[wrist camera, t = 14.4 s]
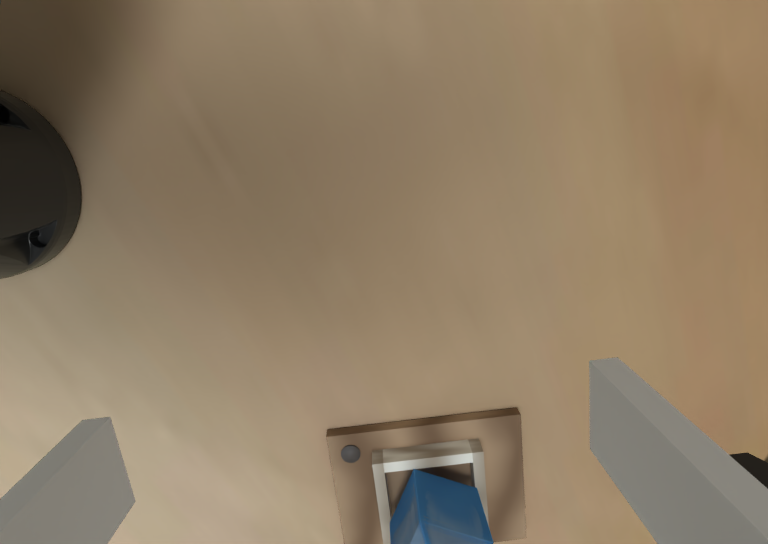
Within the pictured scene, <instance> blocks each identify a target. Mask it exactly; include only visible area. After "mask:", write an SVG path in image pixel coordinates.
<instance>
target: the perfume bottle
mask: <svg viewBox="0 0 768 544" xmlns="http://www.w3.org/2000/svg"><path fill="white" fill-rule="evenodd" d="M390 542H391V544H493V543H494V542H493V539H492V536H491V532H490V529H489V526H488V522H487V519H486V516H485V513H484V509H483V506H482V503H481V499H480V496H479V493H478V490H477V488H475V487H472V486H468V485H465V484H462V483H459V482H455V481H452V480H449V479H446V478H442V477H439V476H436V475H432V474H429V473H426V472H423V471H419V470H416V469H413V472H412V474H411V476H410V478H409V481H408V483H407V485H406V487H405V490H404V492H403V494H402V496H401V499H400V501H399V503H398V505H397V508H396V510H395V512H394V514H393V517H392V519H391V521H390Z"/></svg>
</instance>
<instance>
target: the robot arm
mask: <svg viewBox="0 0 768 544" xmlns="http://www.w3.org/2000/svg"><path fill="white" fill-rule="evenodd" d="M0 3H1V2H0ZM80 205H81V191H80V183H79V178H78V174H77V170H76V167H75V164H74V161H73V159H72V157H71V155H70V152H69V150H68V149H67V147H66V145H65V143H64V142H63V140H62V139H61V137H60V136H59V135H58V133H57V132H56V131H55V129H54V128H53V127H52V126H51V125H50V124H49V123H48V122H47V120H46V119H45V118H43V117H42V116H41V115H40V114H39V113H38V112H37V111H35V110H34V109H33V108H32V107H30V106H29V105H27V104H26V103H24V102H23V101H21V100H20V99H18V98H16V97H14V96H12V95H10V94H8V93H6V92H3V91H0V279H2V278H7V277H11V276H14V275H17V274H20V273H23V272H26V271H28V270H31V269H34V268H36V267H39V266H41V265H42V264H44V263H46V262H48V261H49V260H51V259H52V258H53V257H55V256H56V255H57V254H58V253H59V252H60V251H61V250H62V249H63V248H64V246H65V245H66V244H67V243H68V241H69V239H70V238H71V236H72V234H73V232H74V230H75V227H76V225H77V222H78V218H79V213H80ZM589 370H590V449H591V451H592V452H593V454H594V455H595V456H596V458H597V459H598V461H599V462H600V463H601V465H602V466H603V468H604V469H605V470H606V472H607V473H608V475H609V476H610V477H611V479H612V480H613V482H614V483H615V484H616V486H617V487H618V489H619V490H620V492H621V493H622V494H623V496H624V497H625V499H626V500H627V501H628V503H629V504H630V506H631V507H632V508H633V510H634V511H635V513H636V514H637V515H638V517H639V518H640V520H641V521H642V522H643V524H644V525H645V527H646V528H647V529H648V531H649V532H650V534H651V535H652V536H653V538H654V539H655V541H656V542H657V543H658V544H768V463H767V462H765V461H763V460H761V459H759V458H757V457H755V456H753V455H751V454H749V453H740V454H731V455H729V454H727V453H726V452H725V451H724V450H723V449H722V448H721V447H719V446H718V445H717V444H716V443H715V442H714V441H713V440H711V439H710V438H709V437H708V436H707V435H706V434H705V433H703V432H702V431H701V430H700V429H699V428H698V427H697V426H695V425H694V424H693V423H692V422H691V421H690V420H689V419H687V418H686V417H685V416H684V415H683V414H682V413H681V412H679V411H678V410H677V409H676V408H675V407H674V406H673V405H671V404H670V403H669V402H668V401H667V400H666V399H665V398H663V397H662V396H661V395H660V394H659V393H658V392H657V391H655V390H654V389H653V388H652V387H651V386H650V385H649V384H647V383H646V382H645V381H644V380H643V379H642V378H641V377H639V376H638V375H637V374H636V373H635V372H634V371H633V370H631V369H630V368H629V367H628V366H627V365H626V364H625V363H623V362H622V361H621V360H620V359H619V358H618V357H617V358H608V359H600V360H591V361H589ZM134 503H135V498H134V495H133V491H132V488H131V485H130V481H129V478H128V475H127V471H126V468H125V465H124V461H123V458H122V455H121V451H120V448H119V444H118V441H117V438H116V434H115V431H114V428H113V424H112V421H111V418H110V417H105V418H96V419H87V420H82V421H81V422H80V423H79V424H78V425H77V426H76V427H75V428H74V429H73V430H72V431H71V432H70V433H68V434H67V435H66V436H65V437H64V438H63V439H62V440H61V441H60V442H59V443H58V444H57V445H56V446H55V447H54V448H53V449H52V450H51V451H50V452H49V453H48V454H47V455H46V456H45V457H43V458H42V459H41V460H40V461H39V462H38V463H37V464H36V465H35V466H34V467H33V468H32V469H31V470H30V471H29V472H28V473H27V474H26V475H25V476H24V477H23V478H22V479H21V480H20V481H18V482H17V483H16V484H15V485H14V486H13V487H12V488H11V489H10V490H9V491H8V492H7V493H6V494H5V495H4V496H3V497H2V498H1V499H0V544H108V542H109V541H110V539H111V538H112V536H113V535H114V533H115V532H116V530H117V529H118V527H119V525H120V524H121V522H122V521H123V519H124V518H125V516H126V515H127V513H128V512H129V510H130V509H131V507H132V506H133V504H134Z"/></svg>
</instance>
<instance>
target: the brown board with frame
mask: <svg viewBox="0 0 768 544" xmlns="http://www.w3.org/2000/svg"><path fill="white" fill-rule="evenodd" d="M326 438H327V444H328V450H329V456H330V462H331V467H332V473H333V479H334V485H335V491H336V497H337V503H338V509H339V515H340V521H341V527H342V533H343V539H344V544H391V542H390V521H391V519H392V517H393V514H394V512H395V510H396V508H397V505H398V503H399V501H400V499H401V496H402V494H403V492H404V490H405V487H406V485H407V483H408V481H409V478H410V476H411V474H412V472H413V469H416V470H419V471H423V472H426V473H429V474H432V475H436V476H439V477H442V478H446V479H449V480H452V481H455V482H459V483H462V484H465V485H468V486H472V487H475V488H477V490H478V493H479V496H480V499H481V503H482V506H483V509H484V513H485V516H486V519H487V522H488V526H489V529H490V532H491V536H492V539H493V542H500V541H509V540H517V539H526V518H525V497H524V477H523V456H522V435H521V414H520V413H519V411H518V409H517V408H508V409H500V410H491V411H483V412H474V413H465V414H457V415H448V416H440V417H431V418H422V419H414V420H405V421H397V422H388V423H380V424H371V425H362V426H354V427H345V428H337V429H328V430H327V436H326Z"/></svg>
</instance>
